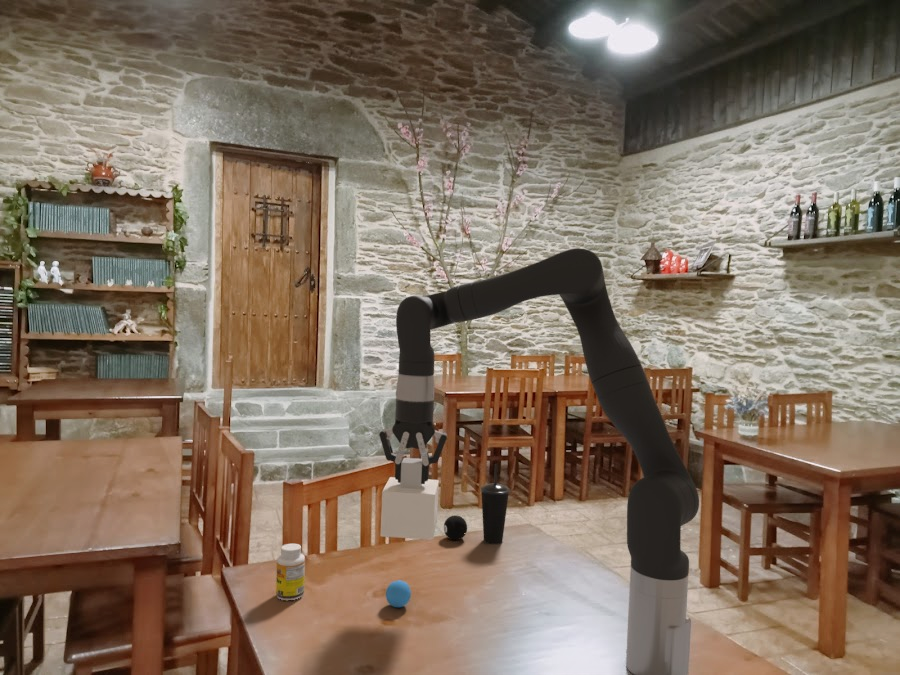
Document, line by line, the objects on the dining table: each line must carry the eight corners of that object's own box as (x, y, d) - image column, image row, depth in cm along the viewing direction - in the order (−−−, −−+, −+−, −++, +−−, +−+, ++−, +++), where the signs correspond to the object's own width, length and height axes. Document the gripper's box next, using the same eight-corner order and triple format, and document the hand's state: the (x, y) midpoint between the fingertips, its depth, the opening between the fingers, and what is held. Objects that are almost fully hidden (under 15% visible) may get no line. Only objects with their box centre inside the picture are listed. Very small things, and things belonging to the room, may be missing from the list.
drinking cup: (506, 547, 160) (509, 469, 159) (476, 544, 161) (479, 466, 160) (509, 537, 167) (512, 462, 166) (480, 534, 169) (483, 459, 168)
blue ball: (393, 615, 126) (416, 605, 126) (385, 606, 123) (408, 596, 123) (388, 591, 130) (411, 582, 130) (379, 582, 126) (403, 572, 126)
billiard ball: (439, 536, 166) (440, 513, 166) (460, 533, 169) (461, 511, 168) (449, 544, 161) (450, 521, 160) (470, 541, 163) (471, 518, 163)
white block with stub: (437, 521, 132) (439, 456, 131) (433, 539, 122) (436, 468, 121) (388, 518, 132) (390, 453, 132) (380, 536, 122) (383, 465, 121)
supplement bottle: (275, 591, 131) (276, 542, 131) (303, 588, 133) (304, 540, 132) (276, 603, 126) (277, 553, 125) (305, 600, 127) (306, 550, 127)
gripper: (452, 396, 129) (448, 479, 130) (382, 392, 130) (379, 475, 130) (450, 401, 121) (446, 490, 122) (376, 397, 122) (372, 485, 123)
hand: (411, 481), depth 126 cm, fingers closed on white block with stub, 4 cm apart
